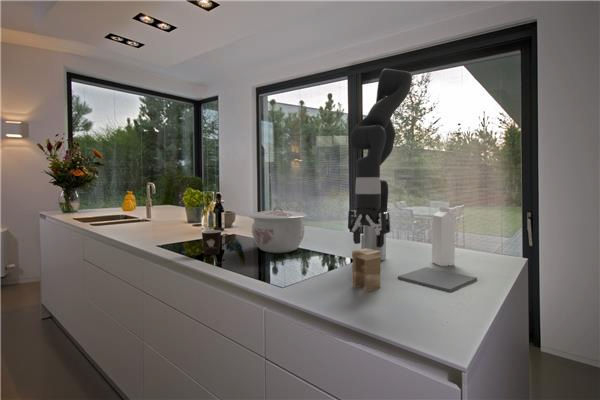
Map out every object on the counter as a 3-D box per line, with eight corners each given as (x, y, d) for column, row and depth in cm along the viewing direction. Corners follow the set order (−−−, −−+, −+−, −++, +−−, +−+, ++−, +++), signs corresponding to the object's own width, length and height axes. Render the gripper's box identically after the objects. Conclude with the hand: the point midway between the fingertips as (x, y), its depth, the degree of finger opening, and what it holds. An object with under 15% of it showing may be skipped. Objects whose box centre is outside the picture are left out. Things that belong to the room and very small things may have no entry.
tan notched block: (352, 287, 108) (352, 251, 107) (365, 282, 112) (365, 248, 111) (367, 291, 103) (367, 254, 102) (380, 287, 107) (381, 251, 106)
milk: (440, 266, 132) (441, 208, 130) (431, 262, 138) (432, 207, 136) (454, 265, 133) (456, 208, 131) (445, 261, 139) (446, 206, 137)
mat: (397, 278, 116) (397, 276, 116) (426, 269, 128) (426, 267, 128) (449, 292, 102) (449, 289, 102) (476, 280, 114) (477, 277, 114)
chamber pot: (301, 258, 146) (301, 209, 145) (240, 255, 152) (239, 208, 150) (312, 245, 174) (312, 204, 172) (260, 243, 179) (259, 203, 178)
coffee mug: (198, 255, 154) (197, 232, 153) (208, 251, 162) (208, 229, 161) (221, 256, 150) (221, 233, 149) (231, 252, 158) (230, 230, 158)
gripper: (395, 192, 102) (395, 246, 103) (357, 191, 113) (358, 241, 114) (379, 193, 97) (379, 250, 98) (342, 192, 108) (342, 243, 109)
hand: (368, 245), depth 106 cm, fingers open, 8 cm apart
